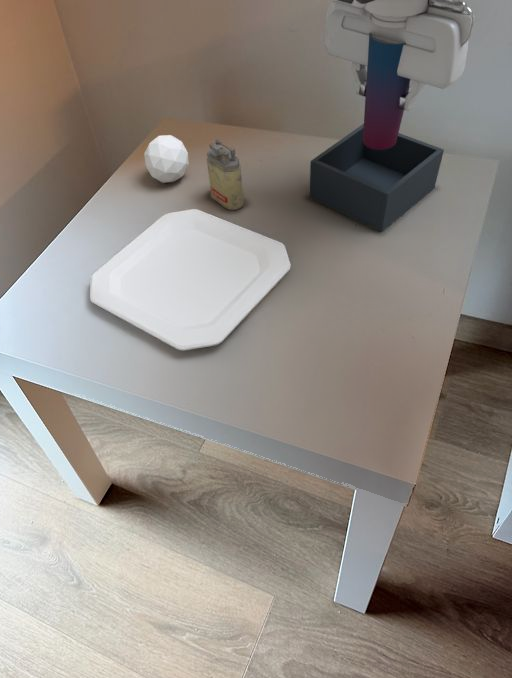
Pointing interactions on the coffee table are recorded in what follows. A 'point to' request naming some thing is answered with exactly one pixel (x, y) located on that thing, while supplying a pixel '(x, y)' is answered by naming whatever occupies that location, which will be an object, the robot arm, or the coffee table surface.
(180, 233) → the plate
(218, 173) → the lighter
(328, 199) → the tub
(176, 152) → the geometric ball
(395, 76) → the cup
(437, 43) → the robot arm
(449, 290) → the coffee table surface
